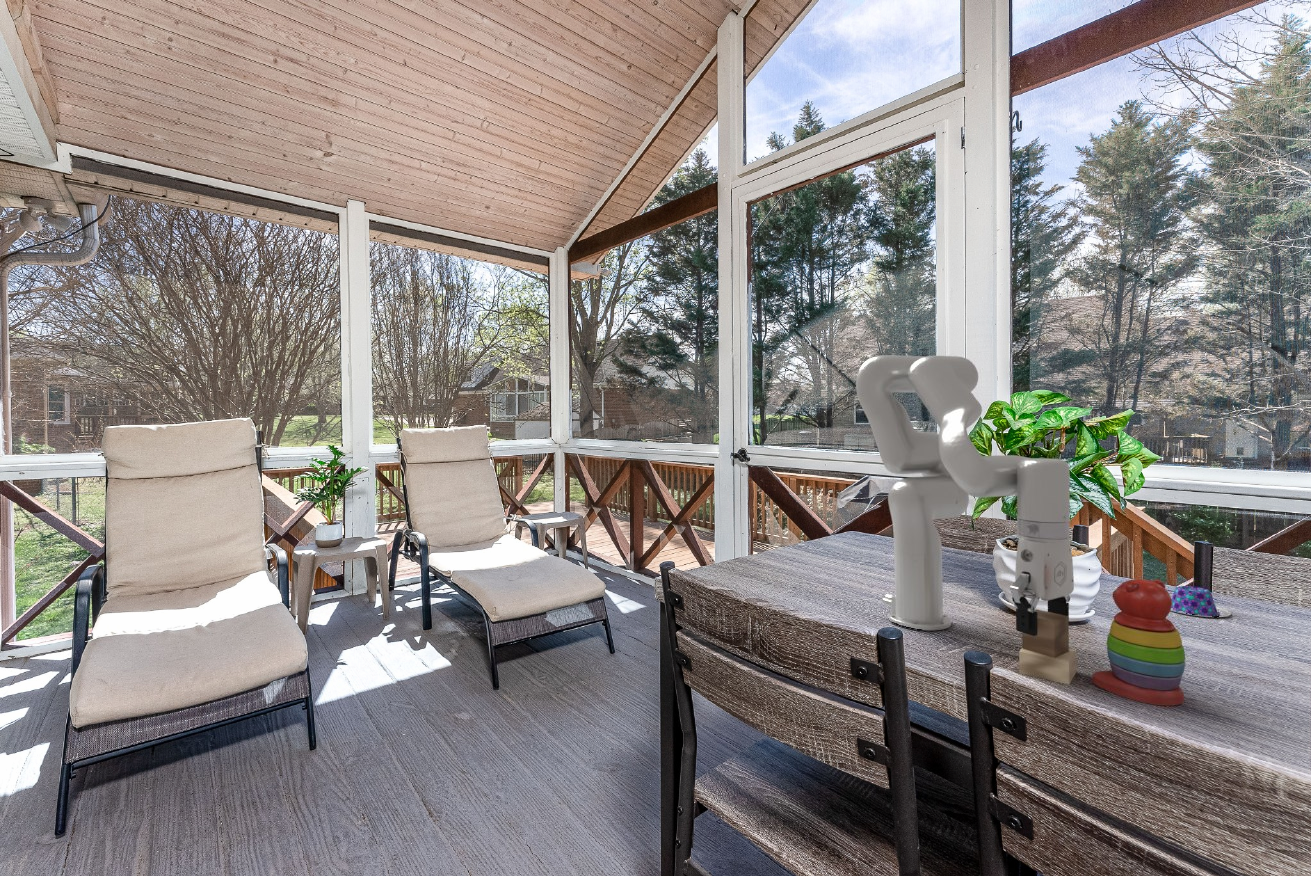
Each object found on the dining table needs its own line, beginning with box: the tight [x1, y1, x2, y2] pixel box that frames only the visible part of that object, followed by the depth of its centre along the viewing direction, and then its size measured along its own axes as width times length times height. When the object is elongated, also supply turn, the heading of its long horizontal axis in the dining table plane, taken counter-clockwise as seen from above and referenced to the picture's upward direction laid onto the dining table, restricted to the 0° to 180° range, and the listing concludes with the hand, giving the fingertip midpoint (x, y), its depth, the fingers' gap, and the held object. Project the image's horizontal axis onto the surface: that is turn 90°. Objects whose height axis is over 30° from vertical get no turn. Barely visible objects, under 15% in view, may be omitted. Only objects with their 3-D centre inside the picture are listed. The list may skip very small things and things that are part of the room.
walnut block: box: [1021, 608, 1070, 658], centre depth 99 cm, size 5×5×6 cm
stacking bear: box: [1091, 578, 1186, 707], centre depth 90 cm, size 11×10×18 cm
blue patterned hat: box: [1170, 585, 1232, 618], centre depth 130 cm, size 12×12×5 cm
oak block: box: [1018, 648, 1077, 685], centre depth 99 cm, size 7×7×4 cm
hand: (1042, 627), depth 100 cm, fingers open, 9 cm apart
